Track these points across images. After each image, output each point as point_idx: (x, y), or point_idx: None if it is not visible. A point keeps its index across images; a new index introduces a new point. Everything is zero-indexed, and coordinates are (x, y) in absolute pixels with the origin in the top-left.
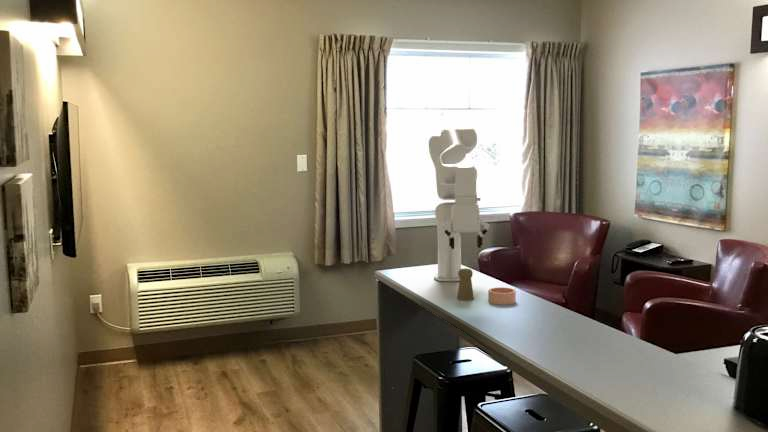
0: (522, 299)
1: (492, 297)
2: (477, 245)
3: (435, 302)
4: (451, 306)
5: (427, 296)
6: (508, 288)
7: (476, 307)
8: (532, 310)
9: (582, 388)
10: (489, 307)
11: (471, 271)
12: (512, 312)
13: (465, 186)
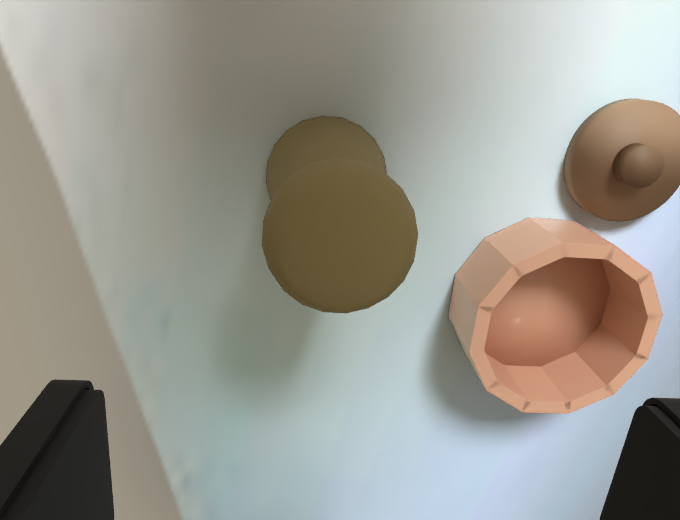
0: (675, 276)
1: (467, 354)
2: (646, 447)
3: (91, 239)
4: (187, 353)
5: (37, 37)
6: (639, 287)
7: (332, 397)
8: (592, 489)
9: None
10: (405, 408)
11: (398, 284)
12: (481, 506)
13: None
